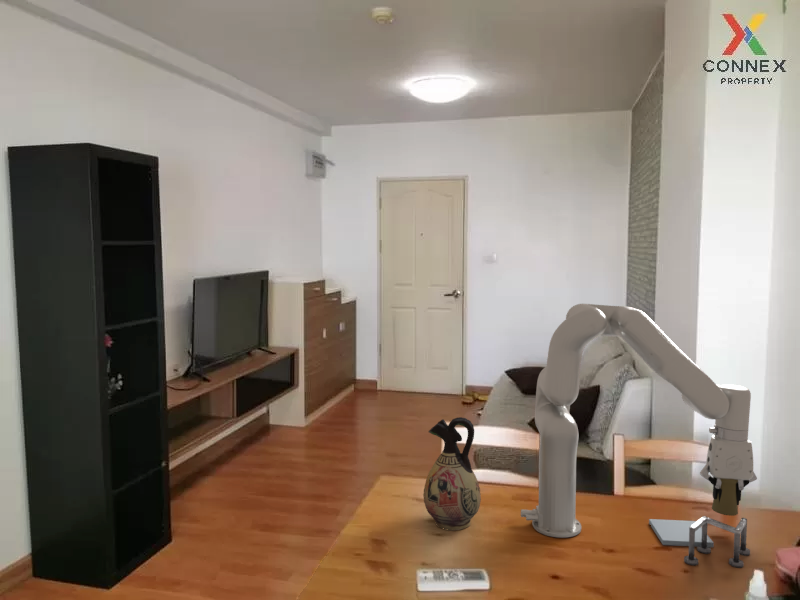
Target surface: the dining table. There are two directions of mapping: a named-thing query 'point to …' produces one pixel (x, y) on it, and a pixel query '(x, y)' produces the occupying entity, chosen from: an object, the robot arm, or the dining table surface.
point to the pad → (676, 532)
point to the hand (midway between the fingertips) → (726, 501)
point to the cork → (726, 498)
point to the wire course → (703, 548)
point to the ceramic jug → (452, 479)
